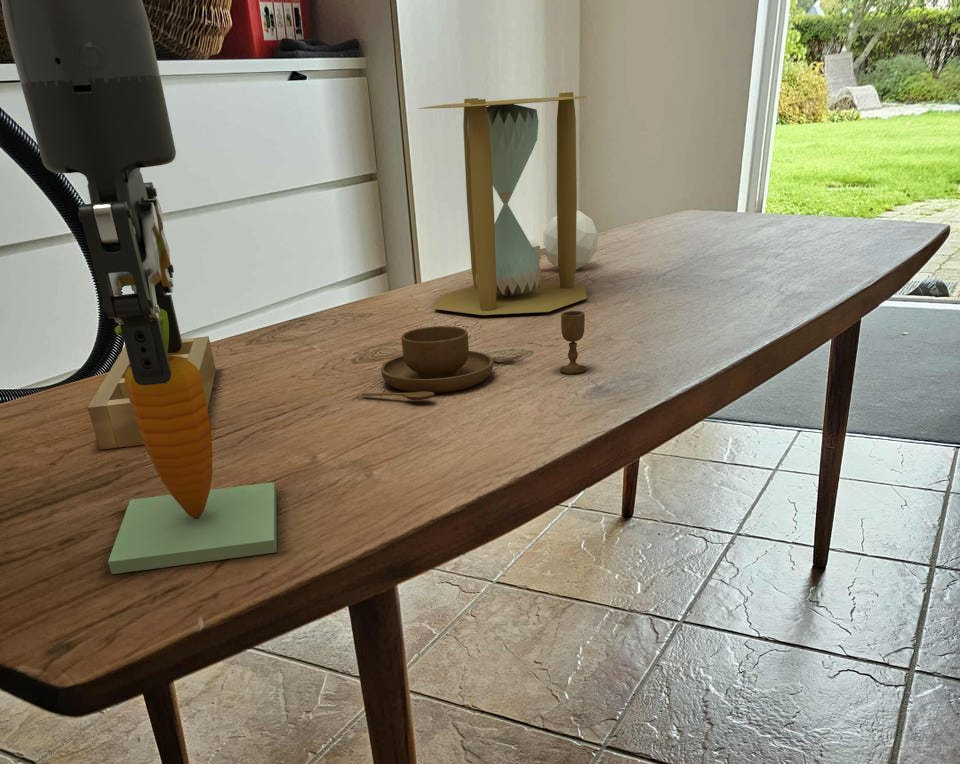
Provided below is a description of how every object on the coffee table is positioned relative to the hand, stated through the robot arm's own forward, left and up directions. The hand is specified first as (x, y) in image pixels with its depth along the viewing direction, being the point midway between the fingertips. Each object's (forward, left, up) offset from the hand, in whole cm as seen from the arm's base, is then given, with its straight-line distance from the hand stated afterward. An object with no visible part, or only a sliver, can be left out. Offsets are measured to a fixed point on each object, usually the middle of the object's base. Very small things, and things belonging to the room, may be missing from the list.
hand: (161, 366), depth 59 cm
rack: (-6, +34, -12) cm, 37 cm away
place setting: (+26, +30, -12) cm, 41 cm away
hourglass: (+39, +69, -12) cm, 80 cm away
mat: (0, 0, -12) cm, 12 cm away
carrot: (0, 0, -11) cm, 11 cm away
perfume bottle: (+52, +89, -12) cm, 104 cm away
